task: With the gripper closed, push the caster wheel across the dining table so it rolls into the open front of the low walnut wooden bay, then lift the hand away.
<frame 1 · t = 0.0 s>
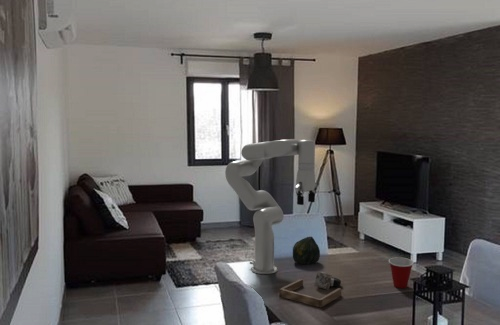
hand: (306, 203, 215), 37 cm above the table, tool pointing down, fingers open, 9 cm apart
caster wheel: (327, 286, 210), on the table
walnut bay: (310, 295, 198), on the table
plastic cup: (400, 286, 210), on the table
squash: (305, 263, 246), on the table
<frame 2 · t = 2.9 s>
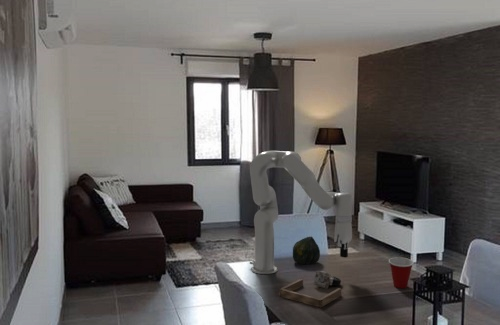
hand: (344, 256, 220), 10 cm above the table, tool pointing down, fingers closed
caster wheel: (327, 285, 211), on the table
everything else where it was.
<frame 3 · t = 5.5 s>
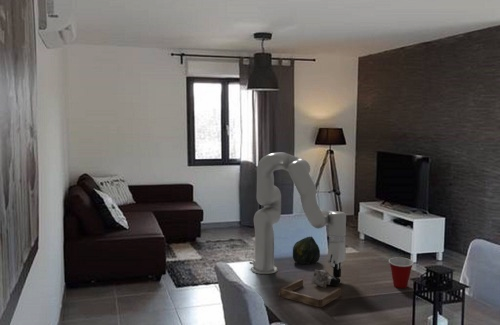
hand: (337, 276, 216), 2 cm above the table, tool pointing down, fingers closed
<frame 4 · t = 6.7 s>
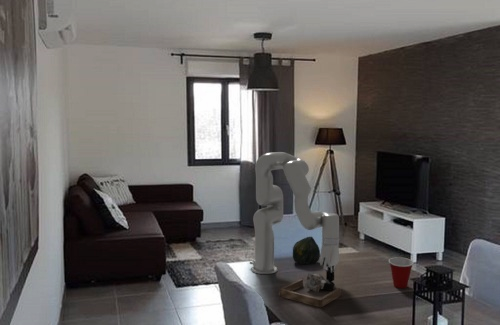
hand: (330, 280, 211), 2 cm above the table, tool pointing down, fingers closed
caster wheel: (321, 289, 207), on the table, touching gripper
everything else where it was.
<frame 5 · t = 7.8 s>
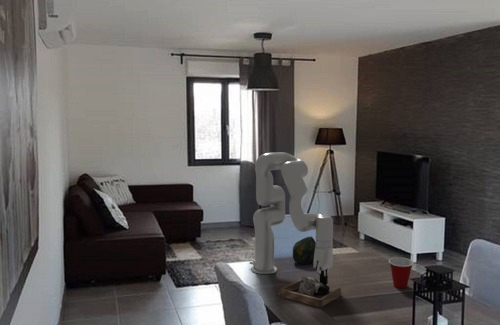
hand: (323, 283, 207), 2 cm above the table, tool pointing down, fingers closed
caster wheel: (315, 293, 202), on the table, touching gripper
everything else where it was.
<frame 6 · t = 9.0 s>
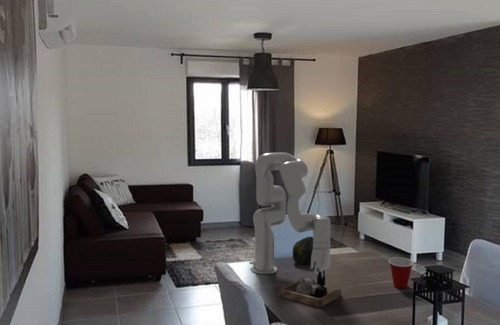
hand: (321, 285, 205), 2 cm above the table, tool pointing down, fingers closed
caster wheel: (313, 294, 200), on the table, touching gripper
everything else where it was.
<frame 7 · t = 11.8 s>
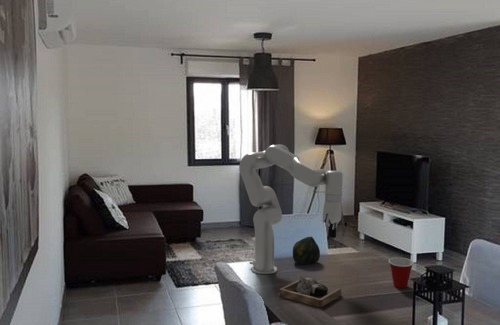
hand: (332, 237, 212), 22 cm above the table, tool pointing down, fingers closed
caster wheel: (313, 293, 201), on the table
everything else where it was.
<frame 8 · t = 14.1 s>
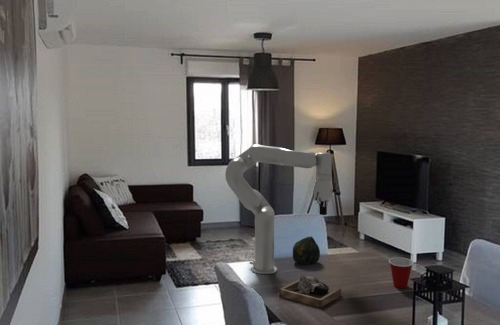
hand: (323, 214, 228), 29 cm above the table, tool pointing down, fingers closed
caster wheel: (314, 292, 203), on the table
everything else where it was.
at the end: caster wheel inside the target area on the walnut bay (6.4 cm from its centre), point 0.0 cm above the walnut bay's base; caster wheel moved 10.2 cm from its start; caster wheel touching table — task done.
